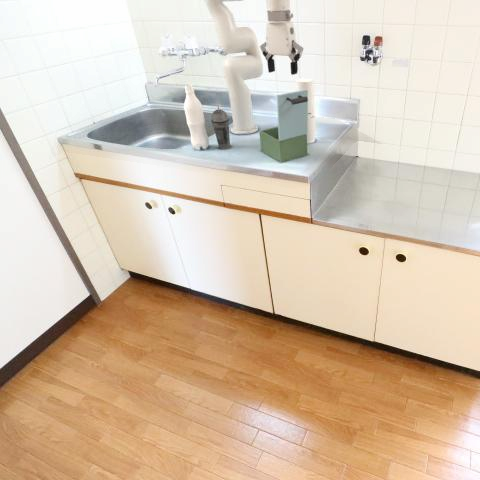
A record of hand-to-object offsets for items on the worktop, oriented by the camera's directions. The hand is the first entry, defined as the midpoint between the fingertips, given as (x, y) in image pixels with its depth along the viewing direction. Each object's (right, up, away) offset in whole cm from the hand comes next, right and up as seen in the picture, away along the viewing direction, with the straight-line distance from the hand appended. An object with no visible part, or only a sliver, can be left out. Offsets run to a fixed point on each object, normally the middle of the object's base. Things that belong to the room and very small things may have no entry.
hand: (282, 72), depth 133 cm
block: (-3, -22, +21) cm, 31 cm away
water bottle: (-37, -21, +26) cm, 50 cm away
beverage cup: (-27, -20, +26) cm, 43 cm away
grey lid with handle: (+3, -13, +5) cm, 15 cm away
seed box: (-1, -24, +20) cm, 31 cm away
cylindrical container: (+7, -16, +31) cm, 36 cm away
